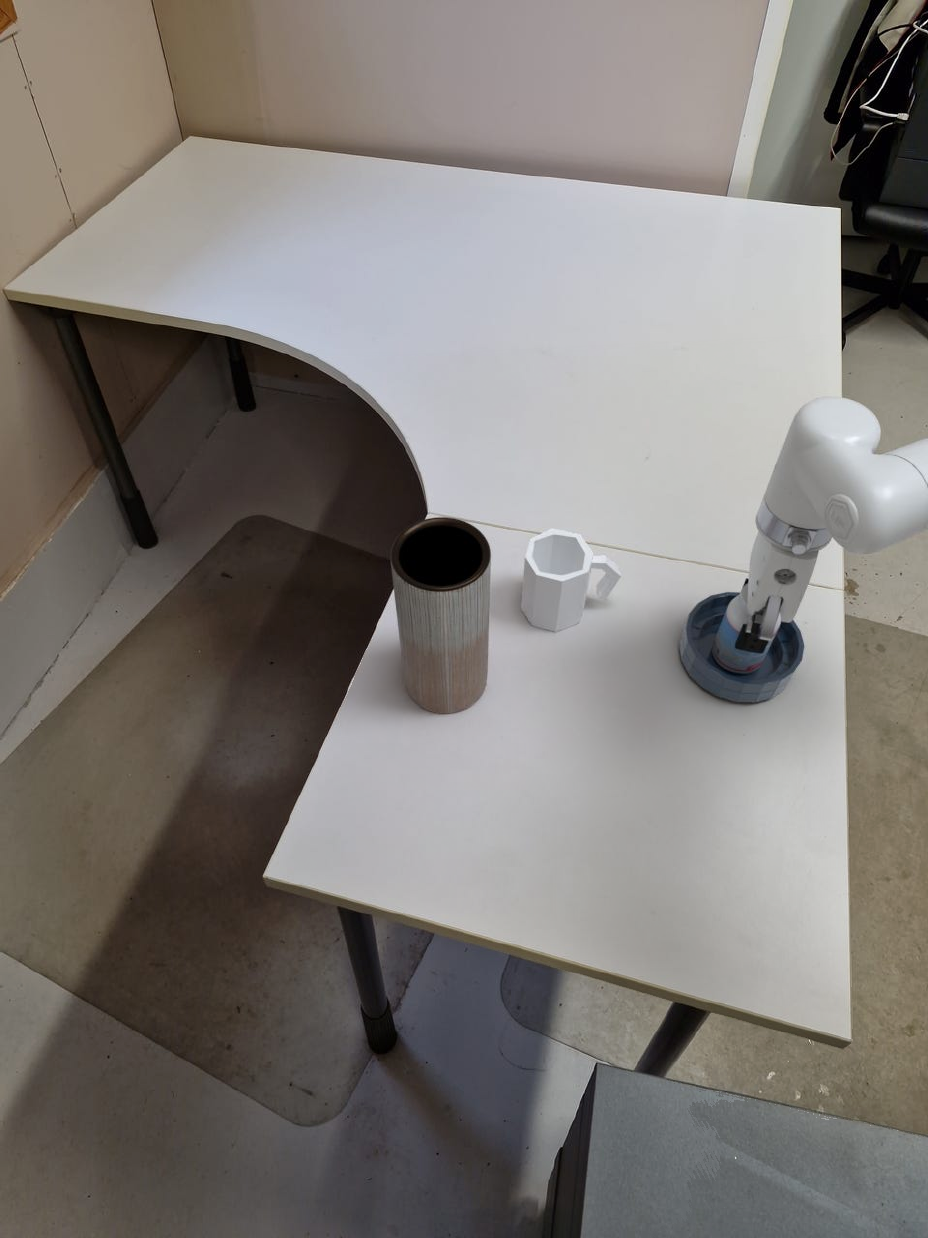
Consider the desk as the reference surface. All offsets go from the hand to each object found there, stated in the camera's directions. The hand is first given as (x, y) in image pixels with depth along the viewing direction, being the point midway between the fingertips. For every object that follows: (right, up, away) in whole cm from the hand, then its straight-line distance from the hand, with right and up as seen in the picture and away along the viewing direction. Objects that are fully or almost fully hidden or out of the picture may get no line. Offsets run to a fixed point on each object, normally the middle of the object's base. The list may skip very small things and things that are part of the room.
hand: (750, 625), depth 95 cm
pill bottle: (0, -4, +5) cm, 6 cm away
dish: (0, -4, +5) cm, 7 cm away
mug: (-20, +2, +11) cm, 23 cm away
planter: (-36, -7, +4) cm, 36 cm away
